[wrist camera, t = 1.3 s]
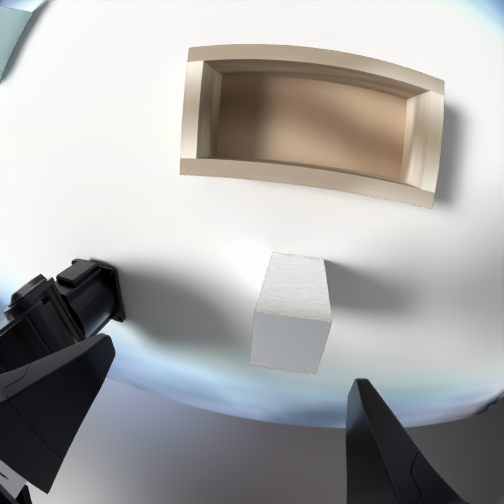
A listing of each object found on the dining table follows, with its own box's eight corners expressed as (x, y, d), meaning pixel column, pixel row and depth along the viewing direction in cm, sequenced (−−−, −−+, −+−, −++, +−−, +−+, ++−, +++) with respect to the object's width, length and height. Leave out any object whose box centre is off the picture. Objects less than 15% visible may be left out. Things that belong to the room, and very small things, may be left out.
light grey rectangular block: (314, 303, 22) (315, 373, 15) (267, 296, 22) (249, 364, 15) (323, 259, 20) (331, 321, 13) (272, 252, 21) (254, 311, 14)
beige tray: (406, 194, 17) (431, 209, 13) (205, 167, 19) (179, 174, 15) (416, 91, 14) (444, 81, 10) (212, 65, 16) (189, 47, 12)
